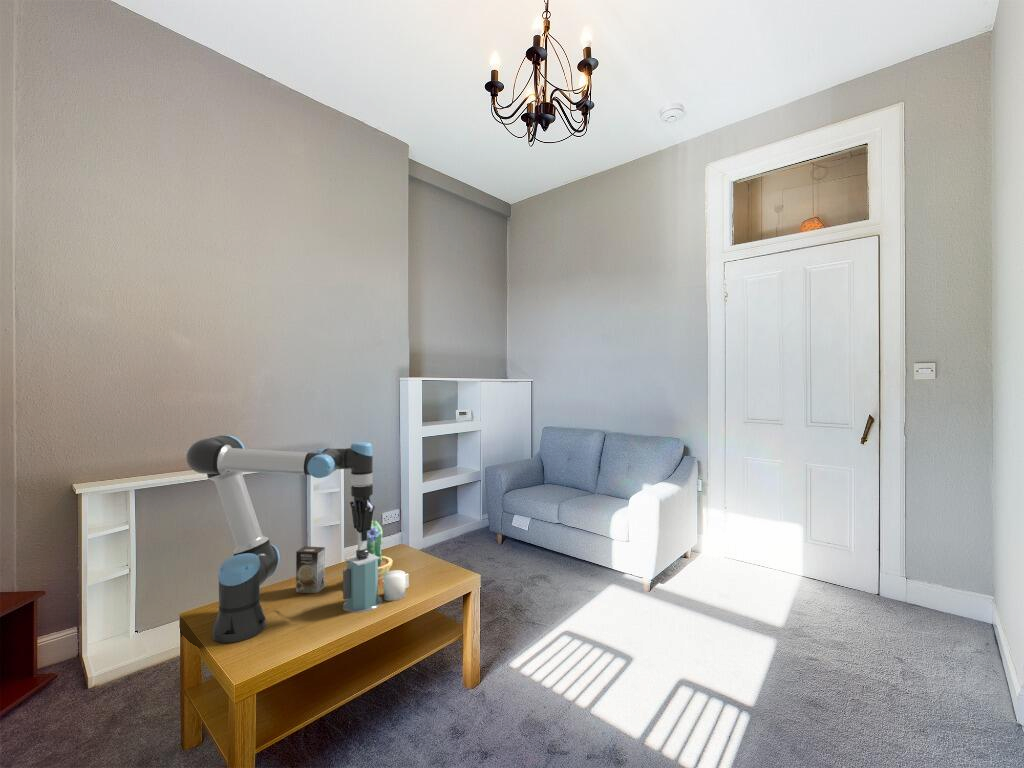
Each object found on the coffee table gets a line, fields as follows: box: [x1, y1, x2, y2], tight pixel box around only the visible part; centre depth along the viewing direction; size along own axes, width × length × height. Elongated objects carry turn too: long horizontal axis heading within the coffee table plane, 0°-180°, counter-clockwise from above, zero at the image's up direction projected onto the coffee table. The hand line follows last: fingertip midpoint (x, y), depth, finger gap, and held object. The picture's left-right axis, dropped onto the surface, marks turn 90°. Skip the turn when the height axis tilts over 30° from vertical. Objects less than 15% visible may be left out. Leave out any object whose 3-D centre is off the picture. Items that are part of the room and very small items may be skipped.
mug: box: [383, 569, 410, 602], centre depth 177 cm, size 10×8×9 cm
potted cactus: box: [367, 519, 393, 584], centre depth 191 cm, size 15×15×25 cm
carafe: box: [342, 553, 380, 610], centre depth 170 cm, size 12×10×16 cm
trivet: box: [342, 595, 384, 613], centre depth 171 cm, size 14×14×1 cm
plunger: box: [355, 548, 369, 560], centre depth 171 cm, size 8×8×16 cm
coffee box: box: [295, 545, 326, 594], centre depth 185 cm, size 9×6×16 cm
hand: (362, 549), depth 171 cm, fingers closed
